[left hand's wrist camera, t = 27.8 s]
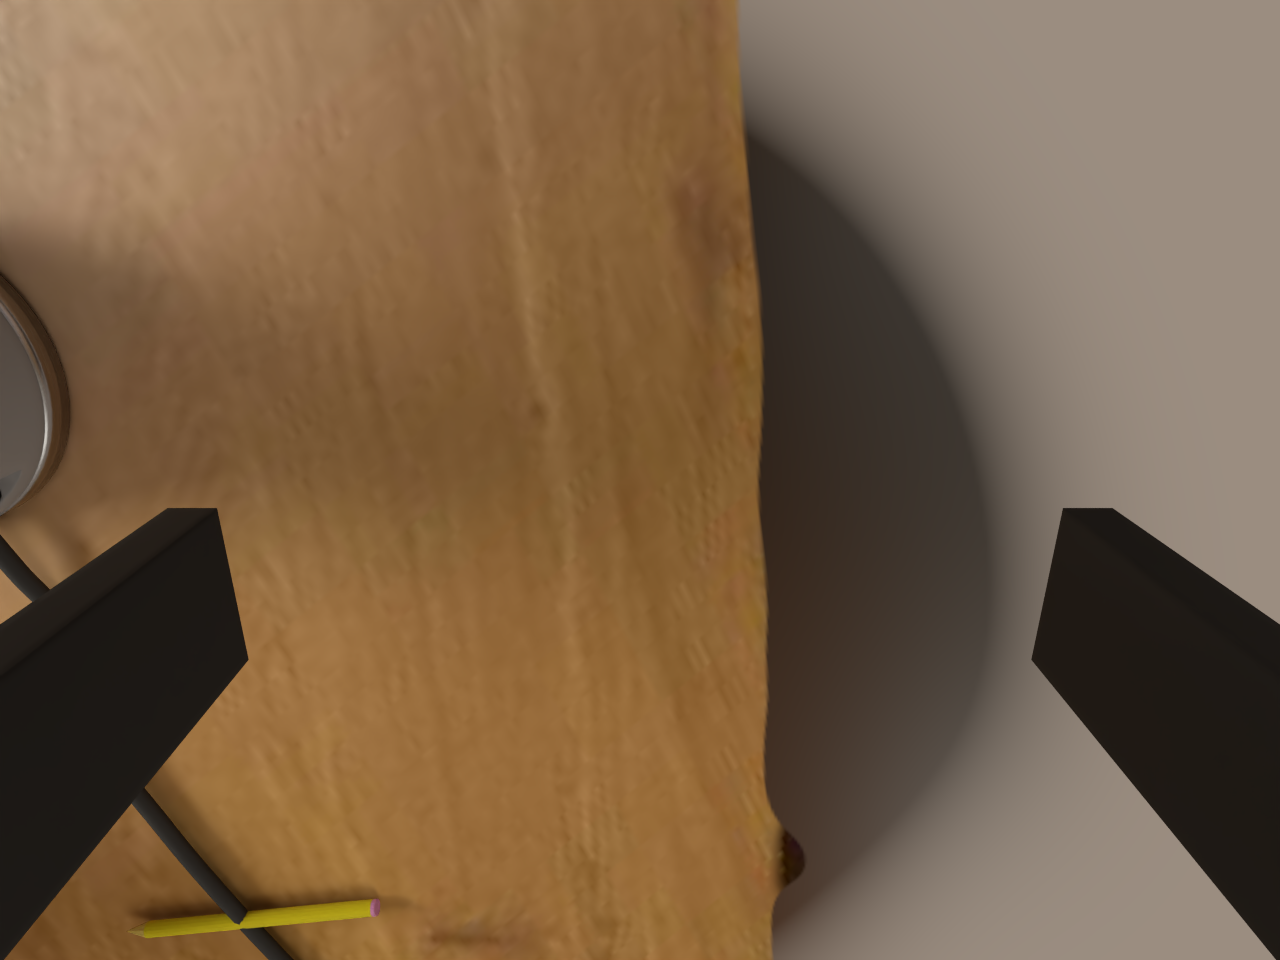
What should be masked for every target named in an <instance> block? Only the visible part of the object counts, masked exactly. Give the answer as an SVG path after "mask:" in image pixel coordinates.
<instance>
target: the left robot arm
mask: <svg viewBox="0 0 1280 960" xmlns="http://www.w3.org/2000/svg"><path fill="white" fill-rule="evenodd" d="M69 424H70V404H69V396H68V389H67V385H66V380H65V376H64V373H63V370H62V367H61V364H60V361H59V358H58V356H57V353H56V351H55V349H54V346H53V344H52V342H51V340H50V338H49V337H48V335H47V333H46V331H45V329H44V328H43V326H42V324H41V323H40V321H39V320H38V318H37V317H36V315H35V314H34V312H33V311H32V310H31V308H30V307H29V306H28V304H27V303H26V302H25V300H24V299H23V298H22V297H21V296H20V295H19V294H18V292H17V291H16V290H15V289H14V288H13V287H12V286H11V285H10V284H9V283H8V282H7V281H6V280H5V279H4V278H3V277H2V276H1V275H0V516H1V515H3V514H5V513H6V512H8V511H10V510H12V509H14V508H16V507H18V506H20V505H22V504H23V503H25V502H26V501H28V500H29V499H30V498H32V497H33V496H34V495H35V494H37V493H38V492H39V491H40V490H41V489H42V488H43V487H44V486H45V484H46V483H47V482H48V481H49V480H50V478H51V477H52V475H53V474H54V472H55V471H56V469H57V467H58V465H59V463H60V461H61V459H62V456H63V453H64V450H65V447H66V444H67V439H68V434H69ZM0 569H1V570H2V571H3V572H4V574H5V575H6V576H7V577H8V578H9V579H10V580H11V581H12V582H13V583H14V584H15V585H16V587H17V588H19V589H20V590H21V591H22V592H23V593H24V594H25V595H26V596H27V597H28V598H29V599H30V600H31V601H32V603H30V604H29V605H28V606H26V607H25V608H23V609H22V610H20V611H19V612H18V613H16V614H15V615H13V616H12V617H10V618H9V619H7V620H6V621H5V622H3V623H2V624H0V960H4V959H5V958H6V956H7V955H8V954H9V953H10V952H11V950H12V949H13V948H14V947H15V945H16V944H17V943H18V942H19V941H20V939H21V938H22V937H23V936H24V934H25V933H26V932H27V931H28V929H29V928H30V927H31V926H32V925H33V923H34V922H35V921H36V920H37V918H38V917H39V916H40V915H41V914H42V912H43V911H44V910H45V909H46V907H47V906H48V905H49V904H50V903H51V901H52V900H53V899H54V898H55V896H56V895H57V894H58V893H59V891H60V890H61V889H62V888H63V887H64V885H65V884H66V883H67V882H68V880H69V879H70V878H71V877H72V876H73V874H74V873H75V872H76V871H77V869H78V868H79V867H80V866H81V865H82V863H83V862H84V861H85V860H86V858H87V857H88V856H89V855H90V853H91V852H92V851H93V850H94V849H95V847H96V846H97V845H98V844H99V842H100V841H101V840H102V839H103V838H104V836H105V835H106V834H107V833H108V831H109V830H110V829H111V828H112V827H113V825H114V824H115V823H116V822H117V820H118V819H119V818H120V817H121V815H122V814H123V813H124V812H125V811H126V809H127V808H128V807H129V806H130V804H131V803H132V805H133V806H134V807H135V808H136V809H137V811H138V812H139V813H140V814H141V815H142V817H143V818H144V819H145V820H146V821H147V823H148V824H149V825H150V826H151V827H152V829H153V830H154V831H155V832H156V834H157V835H158V836H159V837H160V839H161V840H162V841H163V842H164V843H165V845H166V846H167V847H168V848H169V850H170V851H171V852H172V853H173V854H174V856H175V857H176V858H177V859H178V860H179V862H180V863H181V864H182V865H183V866H184V867H185V869H186V870H187V871H188V872H189V873H190V874H191V876H192V877H193V878H194V879H195V880H196V881H197V882H198V884H199V885H200V886H201V887H202V888H203V889H204V890H205V891H206V892H207V894H208V895H209V896H210V897H211V898H212V899H213V900H214V901H215V902H216V904H217V905H218V906H219V907H220V908H221V909H222V910H223V911H224V912H225V914H226V915H227V916H228V917H229V918H230V919H231V920H232V921H233V922H234V923H235V924H239V925H240V923H241V922H242V921H243V919H244V917H245V916H246V914H247V912H248V910H247V909H246V908H245V907H244V906H243V905H242V904H241V903H240V901H239V900H238V899H237V898H236V897H235V896H234V895H233V894H232V892H231V891H230V890H229V889H228V888H227V887H226V886H225V885H224V883H223V882H222V881H221V880H220V879H219V878H218V877H217V875H216V874H215V873H214V872H213V871H212V870H211V869H210V867H209V866H208V865H207V864H206V863H205V862H204V861H203V859H202V858H201V857H200V856H199V855H198V853H197V852H196V851H195V850H194V849H193V847H192V846H191V845H190V844H189V843H188V841H187V840H186V839H185V838H184V836H183V835H182V834H181V833H180V831H179V830H178V829H177V828H176V826H175V825H174V824H173V823H172V821H171V820H170V819H169V818H168V816H167V815H166V814H165V813H164V811H163V810H162V809H161V808H160V806H159V805H158V804H157V803H156V802H155V800H154V799H153V798H152V797H151V795H150V794H149V793H148V792H147V791H146V789H145V788H144V787H145V786H146V785H147V784H148V782H149V781H150V780H151V779H152V777H153V776H154V775H155V774H156V773H157V771H158V770H159V769H160V768H161V766H162V765H163V764H164V763H165V762H166V760H167V759H168V758H169V757H170V755H171V754H172V753H173V752H174V750H175V749H176V748H177V747H178V746H179V744H180V743H181V742H182V741H183V739H184V738H185V737H186V736H187V735H188V733H189V732H190V731H191V730H192V728H193V727H194V726H195V725H196V724H197V722H198V721H199V720H200V719H201V717H202V716H203V715H204V714H205V712H206V711H207V710H208V709H209V708H210V706H211V705H212V704H213V703H214V701H215V700H216V699H217V698H218V697H219V695H220V694H221V693H222V692H223V690H224V689H225V688H226V687H227V686H228V684H229V683H230V682H231V681H232V679H233V678H234V677H235V676H236V674H237V673H238V672H239V671H240V670H241V668H242V667H243V666H244V665H245V663H246V662H247V661H248V655H247V650H246V645H245V640H244V636H243V631H242V626H241V621H240V616H239V612H238V607H237V602H236V597H235V592H234V588H233V583H232V578H231V573H230V568H229V564H228V559H227V554H226V549H225V544H224V540H223V535H222V530H221V525H220V521H219V516H218V511H217V508H167V509H166V510H164V511H163V512H161V513H160V514H158V515H157V516H156V517H154V518H153V519H151V520H150V521H148V522H147V523H146V524H144V525H143V526H141V527H140V528H138V529H137V530H135V531H134V532H133V533H131V534H130V535H128V536H127V537H125V538H124V539H123V540H121V541H120V542H118V543H117V544H115V545H114V546H112V547H111V548H110V549H108V550H107V551H105V552H104V553H102V554H101V555H100V556H98V557H97V558H95V559H94V560H92V561H91V562H89V563H88V564H87V565H85V566H84V567H82V568H81V569H79V570H78V571H76V572H75V573H74V574H72V575H71V576H69V577H68V578H66V579H65V580H64V581H62V582H61V583H59V584H58V585H56V586H55V587H53V588H52V589H51V590H50V589H49V588H48V587H47V586H46V585H45V584H44V583H43V582H42V581H41V580H40V579H39V578H38V577H37V576H36V575H35V574H34V573H33V572H32V571H31V570H30V569H29V568H28V567H27V565H26V564H25V563H24V562H23V561H22V560H21V559H20V557H19V556H18V555H17V554H16V553H15V551H14V550H13V549H12V548H11V547H10V546H9V544H8V543H7V542H6V541H5V540H4V538H3V537H2V536H1V535H0ZM1032 661H1033V662H1034V663H1035V665H1036V666H1037V667H1038V668H1039V670H1040V671H1041V672H1042V673H1043V674H1044V676H1045V677H1046V678H1047V679H1048V681H1049V682H1050V683H1051V684H1052V685H1053V687H1054V688H1055V689H1056V690H1057V692H1058V693H1059V694H1060V695H1061V696H1062V698H1063V699H1064V700H1065V701H1066V703H1067V704H1068V705H1069V706H1070V708H1071V709H1072V710H1073V711H1074V712H1075V714H1076V715H1077V716H1078V717H1079V719H1080V720H1081V721H1082V722H1083V723H1084V725H1085V726H1086V727H1087V728H1088V730H1089V731H1090V732H1091V733H1092V735H1093V736H1094V737H1095V738H1096V739H1097V741H1098V742H1099V743H1100V744H1101V746H1102V747H1103V748H1104V749H1105V750H1106V752H1107V753H1108V754H1109V755H1110V757H1111V758H1112V759H1113V760H1114V762H1115V763H1116V764H1117V765H1118V766H1119V768H1120V769H1121V770H1122V771H1123V773H1124V774H1125V775H1126V776H1127V777H1128V779H1129V780H1130V781H1131V782H1132V784H1133V785H1134V786H1135V787H1136V788H1137V790H1138V791H1139V792H1140V793H1141V795H1142V796H1143V797H1144V798H1145V799H1146V801H1147V802H1148V803H1149V804H1150V806H1151V807H1152V808H1153V809H1154V811H1155V812H1156V813H1157V814H1158V815H1159V817H1160V818H1161V819H1162V820H1163V822H1164V823H1165V824H1166V825H1167V826H1168V828H1169V829H1170V830H1171V831H1172V833H1173V834H1174V835H1175V836H1176V838H1177V839H1178V840H1179V841H1180V842H1181V844H1182V845H1183V846H1184V847H1185V849H1186V850H1187V851H1188V852H1189V853H1190V855H1191V856H1192V857H1193V858H1194V860H1195V861H1196V862H1197V863H1198V865H1199V866H1200V867H1201V868H1202V869H1203V871H1204V872H1205V873H1206V874H1207V876H1208V877H1209V878H1210V879H1211V880H1212V882H1213V883H1214V884H1215V885H1216V887H1217V888H1218V889H1219V890H1220V891H1221V893H1222V894H1223V895H1224V896H1225V898H1226V899H1227V900H1228V901H1229V903H1230V904H1231V905H1232V906H1233V907H1234V909H1235V910H1236V911H1237V912H1238V913H1239V915H1240V916H1241V917H1242V918H1243V920H1244V921H1245V922H1246V923H1247V925H1248V926H1249V927H1250V928H1251V929H1252V931H1253V932H1254V933H1255V934H1256V936H1257V937H1258V938H1259V939H1260V941H1261V942H1262V943H1263V944H1264V945H1265V947H1266V948H1267V949H1268V950H1269V952H1270V953H1271V954H1272V955H1273V956H1274V958H1275V959H1276V960H1280V624H1278V623H1277V622H1275V621H1274V620H1273V619H1271V618H1270V617H1268V616H1267V615H1265V614H1264V613H1262V612H1261V611H1260V610H1258V609H1257V608H1255V607H1254V606H1252V605H1251V604H1250V603H1248V602H1247V601H1245V600H1244V599H1242V598H1241V597H1239V596H1238V595H1237V594H1235V593H1234V592H1232V591H1231V590H1229V589H1228V588H1227V587H1225V586H1224V585H1222V584H1221V583H1219V582H1218V581H1216V580H1215V579H1214V578H1212V577H1211V576H1209V575H1208V574H1206V573H1205V572H1203V571H1202V570H1201V569H1199V568H1198V567H1196V566H1195V565H1193V564H1192V563H1191V562H1189V561H1188V560H1186V559H1185V558H1183V557H1182V556H1180V555H1179V554H1178V553H1176V552H1175V551H1173V550H1172V549H1170V548H1169V547H1168V546H1166V545H1165V544H1163V543H1162V542H1160V541H1159V540H1157V539H1156V538H1155V537H1153V536H1152V535H1150V534H1149V533H1147V532H1146V531H1145V530H1143V529H1142V528H1140V527H1139V526H1137V525H1136V524H1134V523H1133V522H1132V521H1130V520H1129V519H1127V518H1126V517H1124V516H1123V515H1121V514H1120V513H1119V512H1117V511H1116V510H1114V509H1113V508H1063V511H1062V516H1061V521H1060V525H1059V530H1058V535H1057V540H1056V544H1055V549H1054V554H1053V559H1052V564H1051V568H1050V573H1049V578H1048V583H1047V588H1046V592H1045V597H1044V602H1043V607H1042V612H1041V617H1040V621H1039V626H1038V631H1037V636H1036V640H1035V645H1034V650H1033V655H1032ZM240 930H241V931H242V932H243V933H244V934H245V935H246V936H247V937H248V939H249V940H250V941H251V942H252V943H253V944H254V945H255V946H256V947H257V948H258V949H259V950H260V951H261V952H262V953H263V954H264V955H265V956H266V957H267V958H268V959H269V960H293V959H292V958H291V956H290V955H289V954H288V953H287V952H286V951H285V950H284V949H283V948H282V947H281V946H280V945H279V944H278V943H277V942H276V941H275V940H274V939H273V937H272V936H271V935H270V934H269V933H268V932H267V931H266V930H265V929H264V928H263V927H258V928H242V929H240Z"/></svg>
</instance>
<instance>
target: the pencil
mask: <svg viewBox="0 0 1280 960" xmlns="http://www.w3.org/2000/svg"><path fill="white" fill-rule="evenodd" d="M379 911H380V901H379V899H367V900H356V901H346V902H336V903H325V904H315V905H305V906H295V907H284V908H274V909H264V910H254V911H248V912H247V914H246V916H245V917H244V919H243V921H242V922H241V923H240V925H239V924H235V923H234V922H233V921H232V920H231V919H230V918H229V917H228V916H227V915H226V914H225V913H223V914H213V915H202V916H192V917H182V918H172V919H161V920H151V921H148V922H146V923H144V924H142V925H139V926H137V927H135V928H133V929H131V930H129V931H126V932H129V933H133V934H136V935H139V936H142V937H145V938H153V937H164V936H174V935H185V934H195V933H205V932H216V931H226V930H237V929H242V928H258V927H268V926H279V925H289V924H299V923H310V922H320V921H331V920H341V919H352V918H362V917H372V916H377V915H378V914H379Z"/></svg>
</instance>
